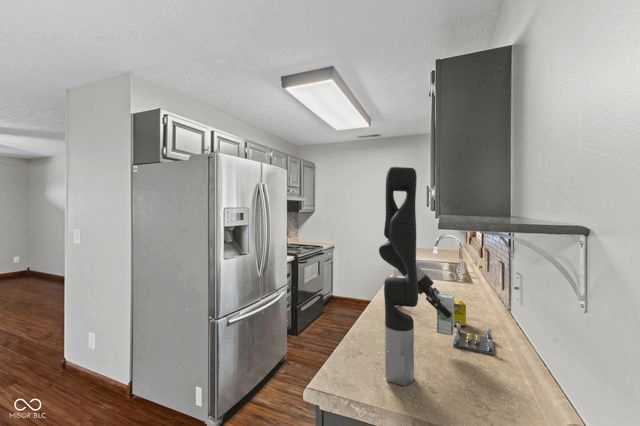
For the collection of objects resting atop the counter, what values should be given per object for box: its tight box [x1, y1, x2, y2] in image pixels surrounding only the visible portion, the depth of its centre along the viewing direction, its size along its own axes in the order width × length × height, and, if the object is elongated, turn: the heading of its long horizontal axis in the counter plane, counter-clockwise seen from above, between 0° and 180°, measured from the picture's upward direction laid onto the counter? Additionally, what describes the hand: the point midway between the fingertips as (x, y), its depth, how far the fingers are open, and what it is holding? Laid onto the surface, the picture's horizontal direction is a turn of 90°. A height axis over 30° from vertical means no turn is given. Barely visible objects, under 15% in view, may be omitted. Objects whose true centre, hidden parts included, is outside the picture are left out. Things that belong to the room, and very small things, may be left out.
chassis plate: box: [452, 323, 495, 356], centre depth 117 cm, size 14×14×5 cm
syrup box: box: [436, 292, 455, 336], centre depth 110 cm, size 6×6×14 cm
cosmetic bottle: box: [391, 267, 400, 308], centre depth 165 cm, size 6×6×22 cm
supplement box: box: [454, 299, 467, 328], centre depth 137 cm, size 6×6×11 cm
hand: (450, 313), depth 109 cm, fingers closed on syrup box, 6 cm apart
